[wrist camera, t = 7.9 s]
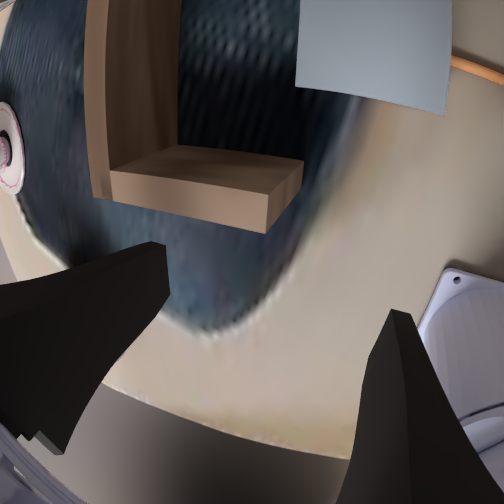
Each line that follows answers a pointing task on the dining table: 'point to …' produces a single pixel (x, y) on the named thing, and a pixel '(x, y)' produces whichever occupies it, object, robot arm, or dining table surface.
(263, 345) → the dining table surface
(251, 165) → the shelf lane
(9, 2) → the game die
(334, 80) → the pull block
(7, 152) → the teacup
